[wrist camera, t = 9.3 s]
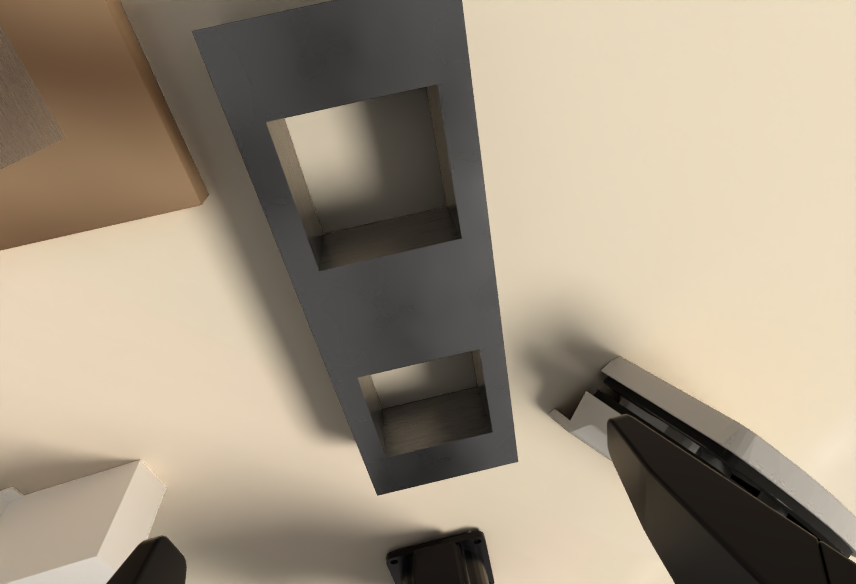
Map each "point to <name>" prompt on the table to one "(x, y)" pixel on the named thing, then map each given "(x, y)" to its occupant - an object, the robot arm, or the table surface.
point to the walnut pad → (91, 126)
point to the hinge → (713, 449)
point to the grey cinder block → (379, 224)
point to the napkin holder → (77, 526)
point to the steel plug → (22, 110)
